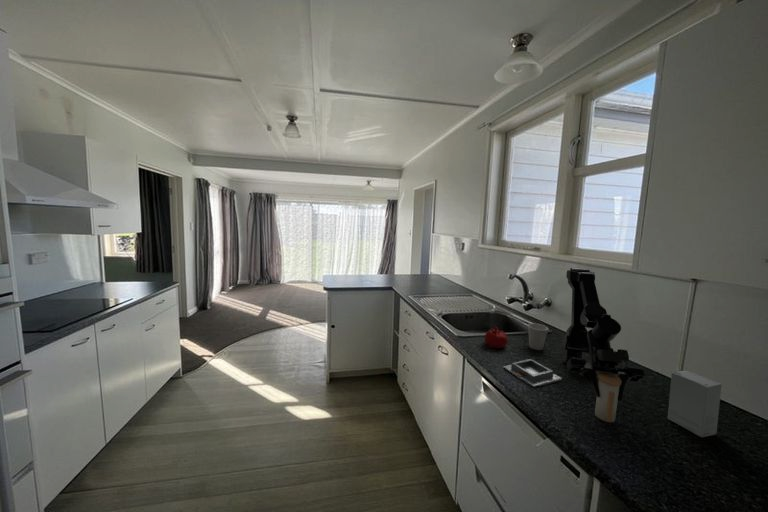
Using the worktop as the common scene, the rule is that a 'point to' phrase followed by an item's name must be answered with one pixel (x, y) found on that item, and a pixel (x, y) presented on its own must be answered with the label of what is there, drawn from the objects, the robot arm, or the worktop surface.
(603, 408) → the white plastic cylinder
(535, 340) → the dixie cup
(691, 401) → the skincare box
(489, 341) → the pomegranate
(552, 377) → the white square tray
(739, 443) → the worktop surface
